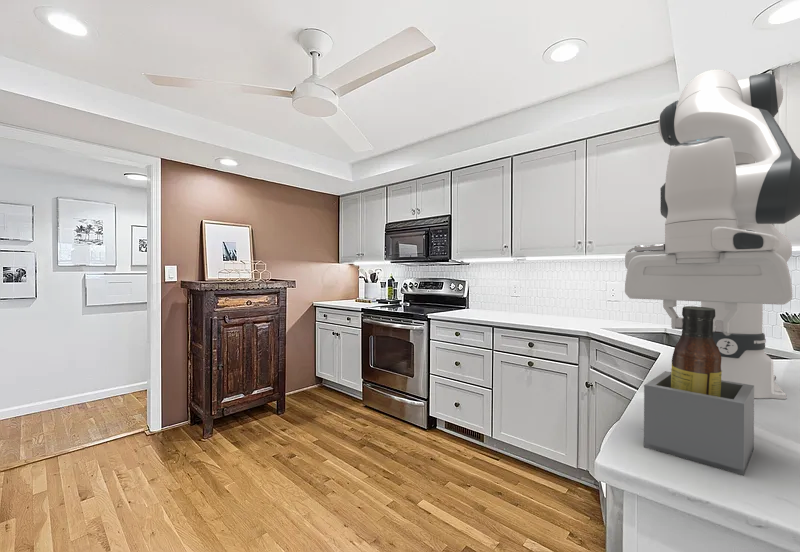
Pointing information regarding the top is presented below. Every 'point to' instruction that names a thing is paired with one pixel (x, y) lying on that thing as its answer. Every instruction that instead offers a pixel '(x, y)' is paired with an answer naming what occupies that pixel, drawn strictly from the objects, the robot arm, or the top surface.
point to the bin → (701, 423)
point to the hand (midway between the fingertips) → (699, 330)
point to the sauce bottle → (697, 354)
